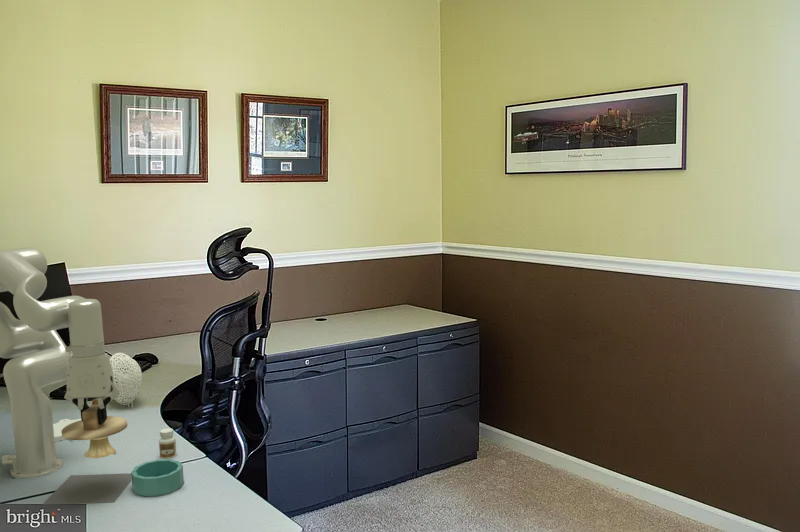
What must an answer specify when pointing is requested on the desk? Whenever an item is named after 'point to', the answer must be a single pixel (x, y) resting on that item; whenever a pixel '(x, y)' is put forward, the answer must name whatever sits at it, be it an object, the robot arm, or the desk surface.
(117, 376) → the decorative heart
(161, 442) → the pill bottle
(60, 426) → the mounting plate
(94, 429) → the lid
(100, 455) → the hand bell
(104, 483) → the mat
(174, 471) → the bowl
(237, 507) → the desk surface
